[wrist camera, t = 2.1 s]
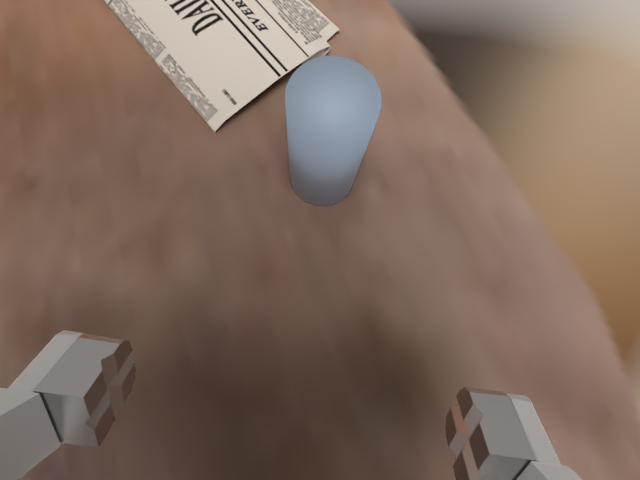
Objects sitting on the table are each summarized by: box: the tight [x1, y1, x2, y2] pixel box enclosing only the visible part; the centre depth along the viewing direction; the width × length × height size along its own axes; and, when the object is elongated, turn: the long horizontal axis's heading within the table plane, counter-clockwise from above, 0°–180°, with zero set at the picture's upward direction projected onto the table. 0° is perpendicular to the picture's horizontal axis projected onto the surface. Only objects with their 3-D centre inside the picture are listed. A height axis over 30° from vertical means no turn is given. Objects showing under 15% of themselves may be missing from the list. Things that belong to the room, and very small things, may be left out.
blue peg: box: [285, 56, 382, 206], centre depth 21 cm, size 4×4×9 cm
